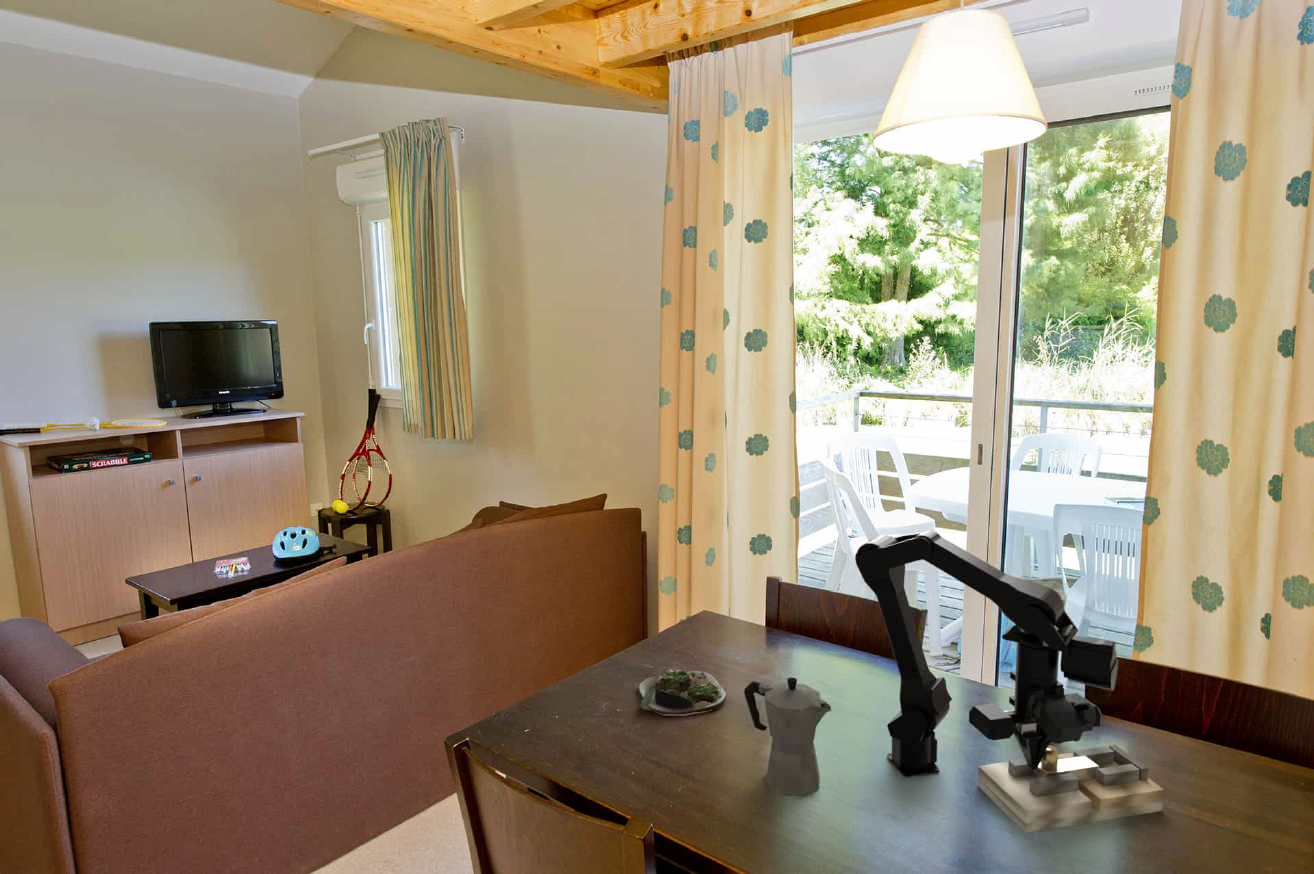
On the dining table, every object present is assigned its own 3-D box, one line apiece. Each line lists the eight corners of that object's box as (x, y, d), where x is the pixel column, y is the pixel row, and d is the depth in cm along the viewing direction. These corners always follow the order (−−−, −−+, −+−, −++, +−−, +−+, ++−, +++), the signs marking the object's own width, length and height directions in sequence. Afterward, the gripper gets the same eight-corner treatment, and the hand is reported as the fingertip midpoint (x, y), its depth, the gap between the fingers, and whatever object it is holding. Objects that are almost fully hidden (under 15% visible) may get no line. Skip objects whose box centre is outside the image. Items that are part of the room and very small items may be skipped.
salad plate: (626, 680, 169) (625, 659, 168) (706, 669, 173) (705, 649, 172) (644, 724, 150) (643, 701, 149) (733, 711, 154) (733, 689, 153)
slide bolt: (1046, 786, 120) (1047, 755, 119) (1033, 775, 123) (1034, 745, 122) (1098, 778, 122) (1099, 748, 121) (1084, 767, 124) (1085, 737, 124)
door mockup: (1025, 833, 115) (1026, 798, 114) (977, 786, 127) (978, 754, 126) (1162, 810, 119) (1164, 777, 118) (1103, 767, 131) (1105, 736, 130)
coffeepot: (842, 779, 130) (842, 676, 127) (818, 809, 122) (818, 700, 119) (759, 752, 139) (757, 655, 136) (732, 778, 131) (730, 676, 128)
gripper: (1013, 703, 109) (1009, 807, 111) (1132, 688, 112) (1125, 789, 114) (968, 669, 120) (965, 764, 122) (1077, 656, 123) (1073, 749, 125)
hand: (1032, 767), depth 121 cm, fingers closed
